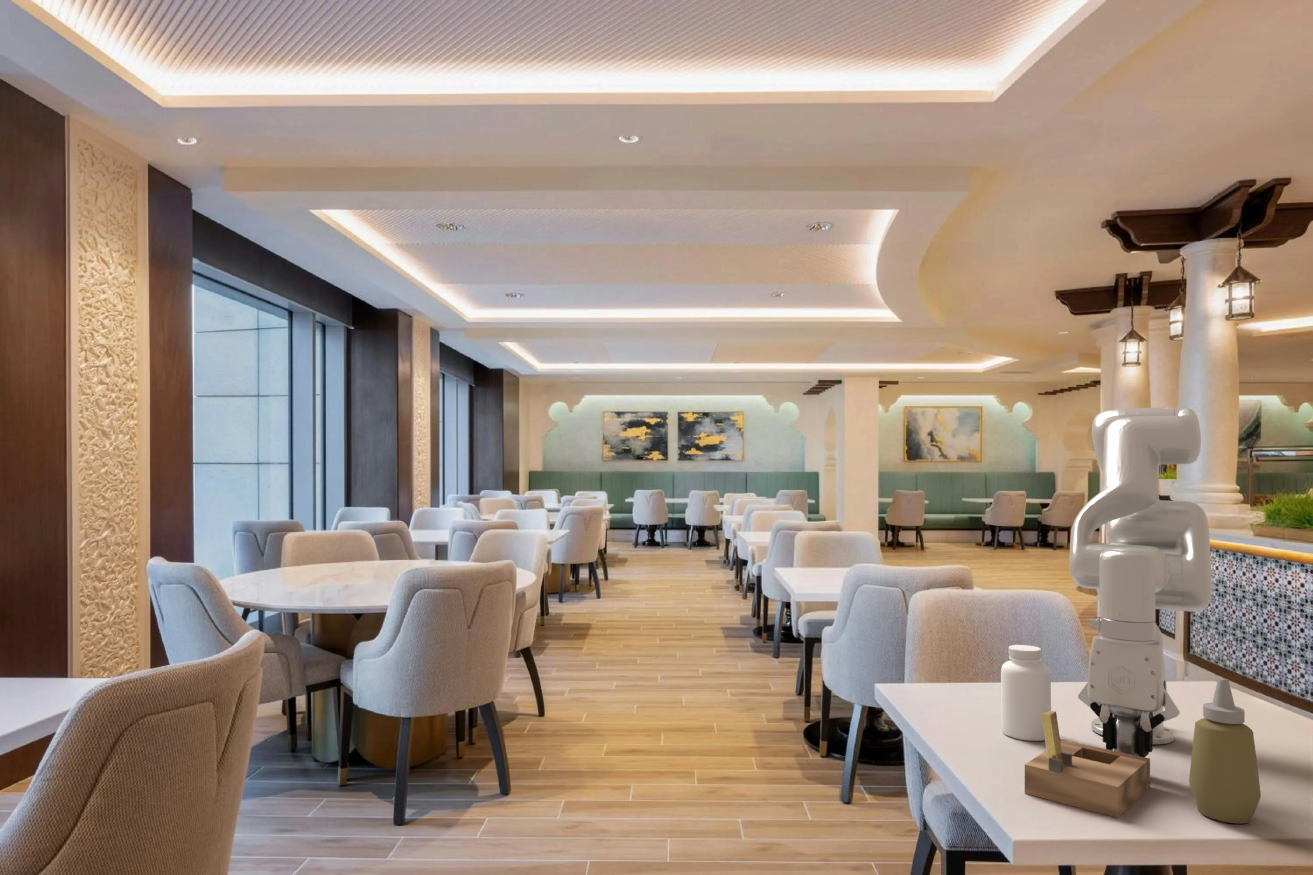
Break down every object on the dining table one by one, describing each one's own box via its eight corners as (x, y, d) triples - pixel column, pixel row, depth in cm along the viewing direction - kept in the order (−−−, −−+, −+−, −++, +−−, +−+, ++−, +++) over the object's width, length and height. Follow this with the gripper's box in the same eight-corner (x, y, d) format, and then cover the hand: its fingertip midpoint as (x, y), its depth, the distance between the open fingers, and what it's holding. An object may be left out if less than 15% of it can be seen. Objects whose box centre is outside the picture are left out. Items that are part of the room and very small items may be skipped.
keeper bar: (1063, 762, 122) (1054, 761, 122) (1056, 711, 122) (1047, 710, 123) (1057, 766, 120) (1048, 765, 121) (1050, 714, 121) (1041, 714, 122)
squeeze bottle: (1174, 804, 118) (1174, 672, 119) (1230, 803, 119) (1229, 672, 119) (1218, 829, 110) (1217, 687, 111) (1277, 828, 111) (1275, 687, 111)
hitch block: (1063, 765, 133) (1063, 729, 133) (1150, 786, 125) (1149, 747, 125) (1024, 792, 121) (1024, 752, 122) (1117, 817, 113) (1117, 774, 113)
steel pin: (1113, 764, 134) (1113, 696, 135) (1151, 772, 131) (1151, 702, 131) (1103, 772, 130) (1103, 702, 131) (1141, 781, 127) (1141, 709, 127)
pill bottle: (990, 730, 151) (990, 644, 151) (1025, 725, 154) (1025, 641, 154) (1026, 744, 143) (1026, 653, 144) (1061, 739, 147) (1061, 650, 147)
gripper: (1061, 626, 134) (1061, 744, 134) (1183, 642, 123) (1184, 771, 122) (1077, 620, 140) (1077, 734, 139) (1195, 635, 128) (1196, 759, 128)
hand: (1127, 750), depth 131 cm, fingers open, 3 cm apart
